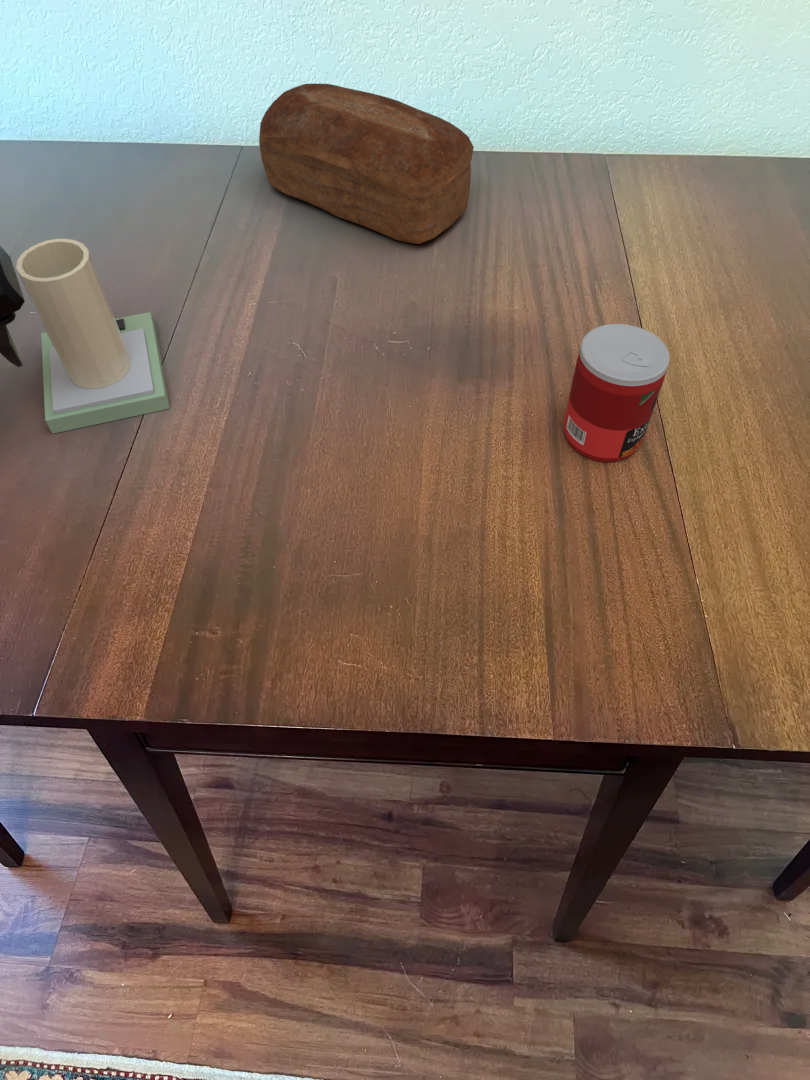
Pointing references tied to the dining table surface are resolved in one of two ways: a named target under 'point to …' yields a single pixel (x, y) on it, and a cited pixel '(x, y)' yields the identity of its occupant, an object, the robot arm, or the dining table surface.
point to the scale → (114, 402)
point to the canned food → (614, 391)
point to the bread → (367, 159)
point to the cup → (75, 311)
